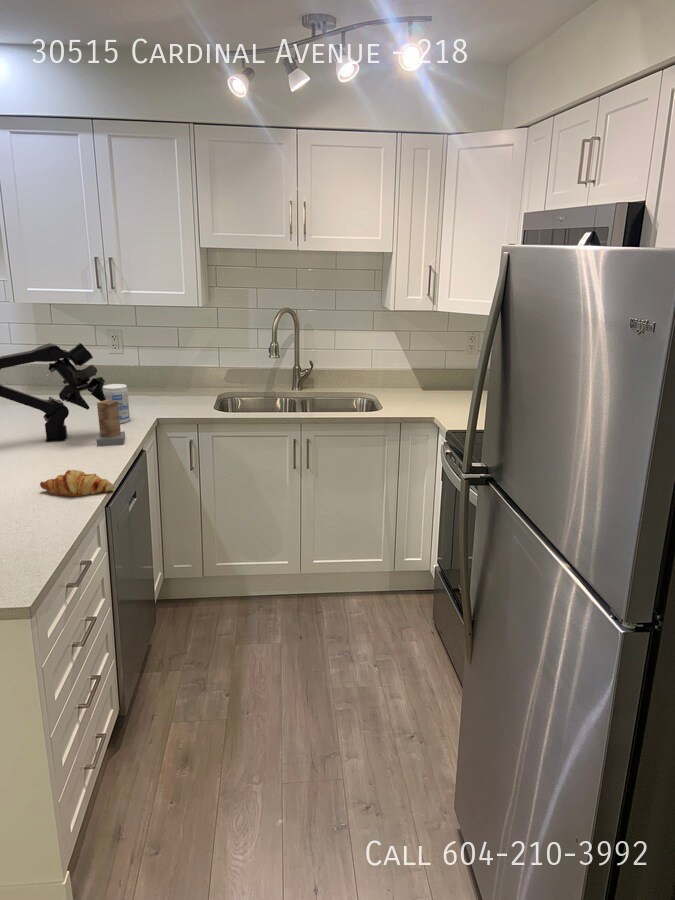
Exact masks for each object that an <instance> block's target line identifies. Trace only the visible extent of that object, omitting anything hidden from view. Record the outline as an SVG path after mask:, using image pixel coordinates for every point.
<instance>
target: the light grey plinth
mask: <svg viewBox="0 0 675 900" xmlns="http://www.w3.org/2000/svg"><path fill="white" fill-rule="evenodd" d="M125 440H126V431H121V434H120V435H118V436H115V437H113V438H108V437H101V436H100V432H98V434H97V437H96V447H107V446H122V445H124V444H125Z"/></svg>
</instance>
